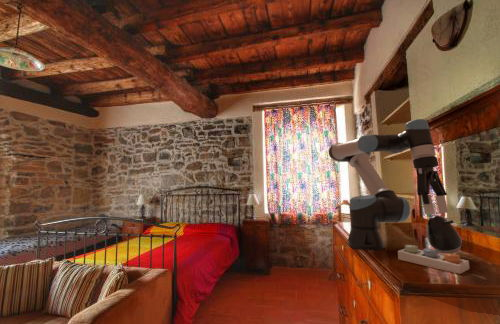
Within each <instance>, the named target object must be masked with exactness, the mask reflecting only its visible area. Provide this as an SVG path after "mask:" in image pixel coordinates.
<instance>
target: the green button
mask: <svg viewBox="0 0 500 324" xmlns="http://www.w3.org/2000/svg"><path fill="white" fill-rule="evenodd" d="M404 249H405V252H409V253H414V254H417V253H418V250H419V246H417V245H413V244H405V245H404Z"/></svg>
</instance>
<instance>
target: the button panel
mask: <svg viewBox="0 0 500 324" xmlns="http://www.w3.org/2000/svg"><path fill="white" fill-rule="evenodd" d="M397 259H398V261H400V260H401V261H405V262H409V263H413V264H417V265H421V266H425V267H428V268H434V269H439V270H442V271H447V272H450V273H454V274H462V273H464V272H466V271H469V270H470V261H469V260H467V259H465V258H464V259H463V258H460V263H459V264H456V263H452V262H447V261H444V254H442V253H441V254H440V253H438V258H436V259H435V258H431V257H426V256H424V253H423V249H418V253H417V254H414V253H409V252H405V248H403V249H399V250H397Z"/></svg>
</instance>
